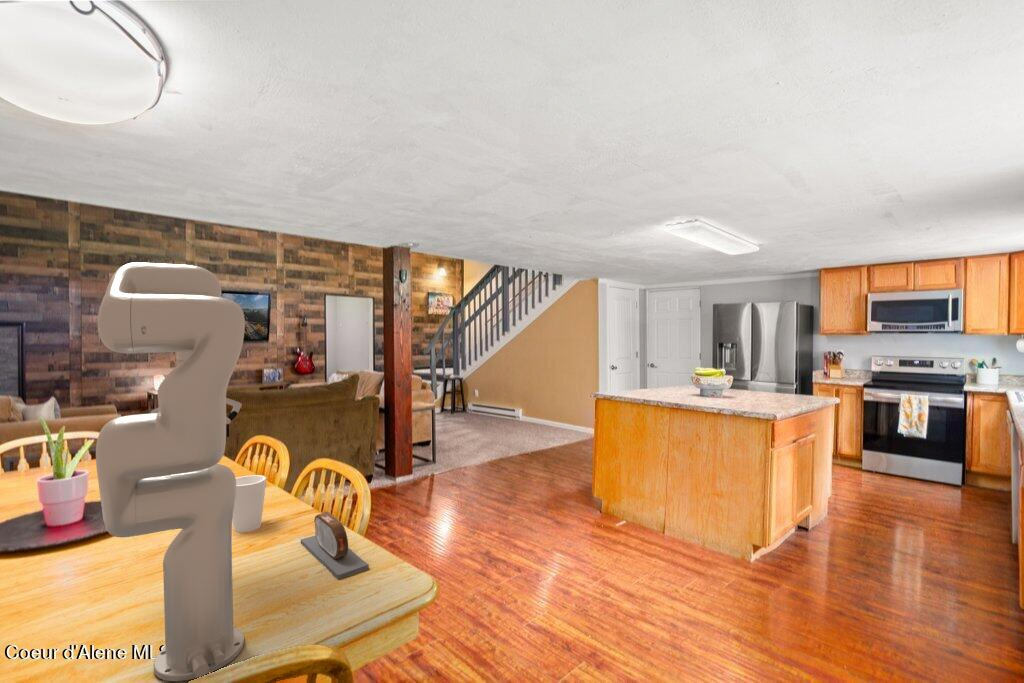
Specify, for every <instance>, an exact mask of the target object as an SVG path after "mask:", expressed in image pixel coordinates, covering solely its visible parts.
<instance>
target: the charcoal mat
mask: <svg viewBox="0 0 1024 683" xmlns="http://www.w3.org/2000/svg"><path fill="white" fill-rule="evenodd" d="M300 544H301V546H302V547H304V548H305V549H306V551H308V553H310V554H311V556H313V557H314V558H315V559H316V560H317V561H318V562H319V563H320V564H321V565H322V564H323V565H322V566H323V567H324V566H325V567H326V568H327V569H328V570H329V571H328V570H327V569H326V568H325V567H324V568H325V569H326V570H327V571H328V572H329V573H330V572H331V573H332V574H331V573H330V574H331V575H332V576H333V577H334V578H335V579H336V580H341V579H345V578H347V577H349V576H352V575H356V574H358V573H362V572H364V571H367V570H369V568H370V567H369V563H367V562H366V561H365V560H364V559H362V558H361V557H360V556H359V555H357V553H356V552H354V551H353V550H351V548H349V547H348V553H347V555H346V556H343V557H340V558H337V559H333V558H332V557H331V556H329V555H328V554H327V553H326V552H325V551H324V550H323V549H322V548H321V547H320V545H319V544H318V541H317V539H316V535H311V536H307V537H305V538H301V539H300Z"/></svg>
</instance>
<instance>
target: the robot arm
mask: <svg viewBox="0 0 1024 683" xmlns="http://www.w3.org/2000/svg"><path fill="white" fill-rule="evenodd" d="M221 286H222V285H221V282H220V280H219V279H218V278H217V276H216V275H215V274H214V273H213V272H211V271H210V270H208V269H206V268H204V267H202V266H196V265H193V264H177V263H176V264H175V263H155V262H137V261H136V262H129V263H126V264H124V265H122V266H119V268H117V269H116V271H115V272H114V273H113V275H112V276H111V278H110V280H109V282H108V284H107V287H106V290H105V293H104V296H103V298H102V301H101V303H100V306H99V309H98V316H97V332H98V337H99V338H100V341H101V342H102V344H103V345H104V346H105V347H106V348H107V349H109V350H110V351H112V352H116V353H119V354H157V353H159V354H160V353H176V366H175V367H174V368H173V369H172V370H171V371H170V372H169V373H168V374H167V375H166V376H165V378H164V379H163V380H162V382H160V384H159V385H158V388H157V402H158V407H157V408H154V409H152V410H151V411H150V412H149V413H139V414H138V413H137V414H127V415H124V416H123V415H122V416H118V417H114V418H113V419H111V420H109V421H108V422H106V423H105V424H104V425H103V427H102V428H101V429H100V432H99V434H98V437H97V440H96V445H95V463H96V464H95V465H96V472H97V481H98V489H99V497H100V506H101V513H102V520H103V523H104V526H105V529H106V531H107V532H108V533H109V535H110V536H113V537H116V538H132V537H137V536H144V535H149V534H155V533H161V532H165V531H172V530H180V531H179V532H178V534H176V535H175V537H174V539H173V540H172V541H171V542H170V544H169V546H168V547H167V549H166V550H165V553H164V556H163V560H162V571H163V599H164V600H163V606H164V607H163V608H164V609H163V610H164V639H165V641H164V644H165V645H164V646H165V647H164V648H162V649H161V651H160V652H158V654H157V655H156V657H155V658H154V660H153V661H154V662H153V673H154V674H155V676H156V677H157V678H158V679H160V680H163V681H168V682H182V681H183V682H184V681H189V680H193V679H194V678H195V679H199V678H198V677H200V676H203V675H205V674H207V673H209V672H212V671H214V672H216V671H218V670H219V668H220V669H221V668H223V667H224V666H226V665H227V664H230V663H231V662H232V661H233V660H234V659H235V658H236V657H237V656H238V655H239V654H240V653H241V651H242V650H243V648H244V646H245V636H244V635H245V634H244V632H243V631H242V630H241V629H240V628H238V627H235V626H234V598H233V597H234V595H233V594H234V593H233V589H234V588H233V552H232V549H233V548H232V546H233V544H232V542H233V541H232V539H233V537H232V535H233V534H232V533H233V532H232V531H233V529H232V528H233V520H232V518H233V510H234V502H235V495H236V478H237V477H236V475H235V473H234V471H233V470H232V469H231V468H230V467H228V466H226V465H223V464H219V463H220V461H221V460H222V459H223V457H224V454H225V451H226V444H227V443H226V442H228V441H227V438H230V424H231V423H232V421H233V420H234V419H235V418H236V417H237V416H238V414H239V412H240V409H241V408H242V406H243V403H241V402H239V401H236V400H235V399H231V398H228V397H227V392H228V391H227V390H228V386H229V383H230V380H231V377H232V375H233V372H234V370H235V368H236V366H237V364H238V362H239V359H240V356H241V352H242V349H243V344H244V338H245V327H246V326H245V325H246V322H245V315H244V311H243V308H242V307H241V305H239V304H238V303H237V302H236V301H233V300H232V299H229V298H225V297H222V287H221ZM227 405H228V406H231V407H232V409H231V411H230V412H229V413H228V414H227ZM217 669H218V670H217ZM215 670H216V671H215ZM212 673H213V672H212ZM209 674H210V673H209ZM207 675H208V674H207ZM205 676H206V675H205ZM203 677H204V676H203Z"/></svg>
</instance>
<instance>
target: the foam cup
mask: <svg viewBox="0 0 1024 683" xmlns="http://www.w3.org/2000/svg"><path fill="white" fill-rule="evenodd" d="M235 478H236V495H235V502H234V510H233V518H232V527H233V529H234V532H235V533H248V532H252V531H255V530H259V528H260V527H261V526H262V525H261V524H262V520H263V519H262V518H263V511H264V502H265V494H266V492H265V491H266V488H267V477H266V476H265V475H261V474H259V475H258V474H256V475H255V474H251V475H245V476H244V475H243V476H239V477H235Z"/></svg>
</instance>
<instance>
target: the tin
mask: <svg viewBox="0 0 1024 683" xmlns="http://www.w3.org/2000/svg"><path fill="white" fill-rule="evenodd" d="M313 521H314V530H315V535H316V539H317V541H318V544H319V545H320V547H321V548H322V549H323V550H324V551H325V552H326V553H327V554H328V555H329V556H331V557H332V558H333V559H337V558H340V557H343V556H346V555H347V553H348V548H349V540H348V535H347V530H346V528H345V526H344V525H343V522H342V521H341V520H339V519H338V518H337V517H336V516H335V515H333V514H332V513H331V512H329V511H327V510H326V511H324V512H322V513H318V514H317V515H315V517H314V519H313ZM315 535H314V536H315Z"/></svg>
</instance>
